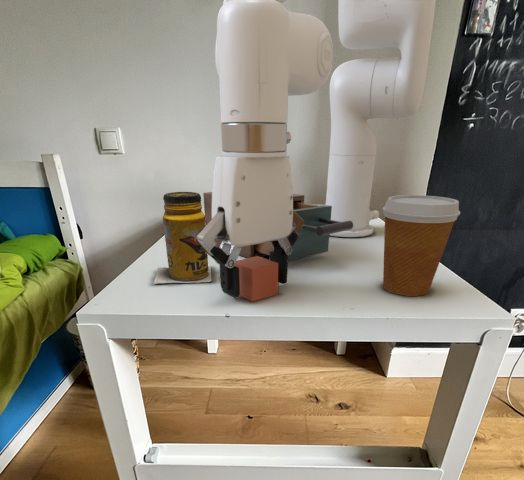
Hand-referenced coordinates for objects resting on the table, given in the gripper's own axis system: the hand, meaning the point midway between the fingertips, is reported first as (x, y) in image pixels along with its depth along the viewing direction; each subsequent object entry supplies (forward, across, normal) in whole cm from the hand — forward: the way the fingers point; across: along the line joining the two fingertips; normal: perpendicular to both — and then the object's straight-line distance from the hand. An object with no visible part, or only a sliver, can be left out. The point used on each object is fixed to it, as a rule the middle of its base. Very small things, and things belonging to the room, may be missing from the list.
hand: (255, 286), depth 53 cm
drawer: (0, -16, -10) cm, 19 cm away
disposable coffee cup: (+1, -18, +12) cm, 22 cm away
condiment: (+1, +4, -13) cm, 14 cm away
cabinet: (+1, -16, -21) cm, 26 cm away
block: (+1, 0, 0) cm, 1 cm away
